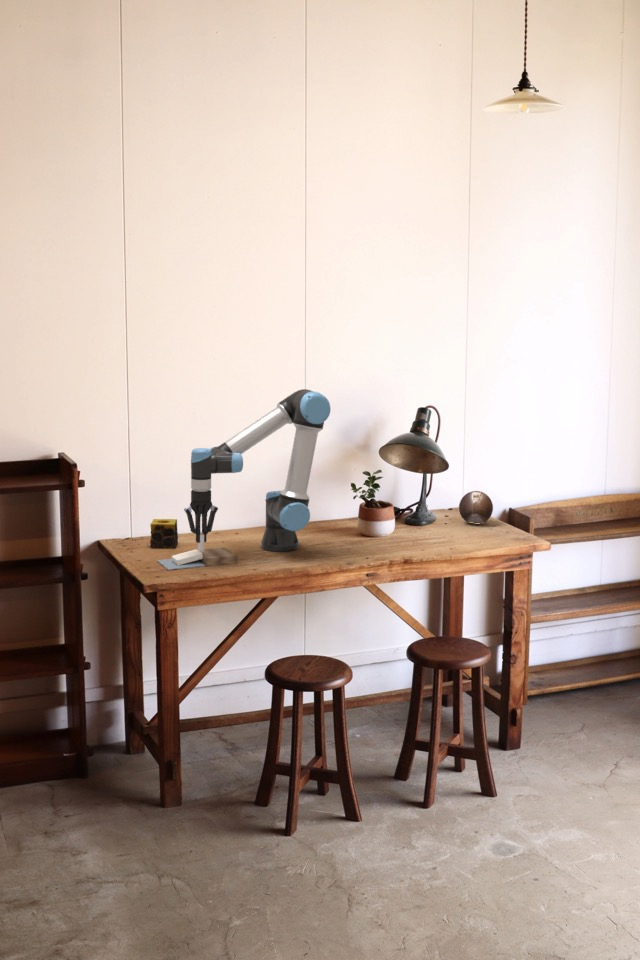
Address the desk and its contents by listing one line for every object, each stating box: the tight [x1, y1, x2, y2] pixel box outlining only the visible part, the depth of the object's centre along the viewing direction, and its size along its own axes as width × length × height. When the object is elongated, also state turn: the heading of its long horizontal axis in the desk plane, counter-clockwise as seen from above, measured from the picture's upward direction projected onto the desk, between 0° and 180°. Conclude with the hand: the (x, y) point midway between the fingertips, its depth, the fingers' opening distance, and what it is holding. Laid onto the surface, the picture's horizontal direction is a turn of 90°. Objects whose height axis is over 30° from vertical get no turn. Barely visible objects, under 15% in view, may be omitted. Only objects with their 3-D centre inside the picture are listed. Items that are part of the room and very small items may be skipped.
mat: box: [156, 558, 206, 571], centre depth 399 cm, size 14×14×1 cm
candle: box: [149, 518, 179, 549], centre depth 426 cm, size 10×10×10 cm
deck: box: [197, 547, 238, 567], centre depth 405 cm, size 12×14×3 cm
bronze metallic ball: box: [458, 490, 494, 524], centre depth 473 cm, size 15×15×15 cm
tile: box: [171, 548, 203, 565], centre depth 400 cm, size 10×7×2 cm
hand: (201, 550), depth 402 cm, fingers closed
